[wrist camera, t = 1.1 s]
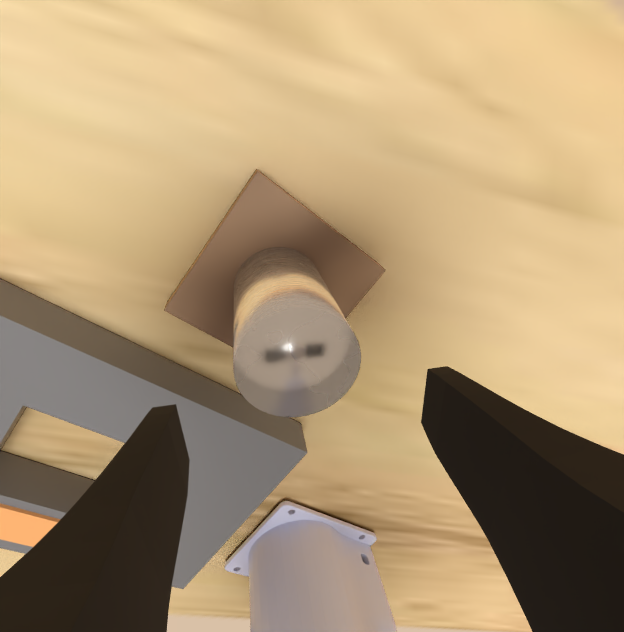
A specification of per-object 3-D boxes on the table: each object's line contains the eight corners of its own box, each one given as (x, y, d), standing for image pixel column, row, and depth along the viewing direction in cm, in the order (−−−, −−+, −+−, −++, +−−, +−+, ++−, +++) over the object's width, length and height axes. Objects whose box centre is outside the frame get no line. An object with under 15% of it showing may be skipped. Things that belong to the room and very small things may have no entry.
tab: (379, 264, 21) (385, 270, 20) (291, 369, 23) (293, 379, 22) (256, 168, 18) (257, 171, 17) (167, 302, 20) (164, 310, 19)
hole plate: (300, 423, 25) (308, 455, 22) (187, 552, 28) (182, 592, 26) (-8, 274, 17) (-47, 298, 15) (-110, 473, 21) (-154, 517, 19)
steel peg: (338, 278, 20) (385, 348, 13) (287, 342, 21) (309, 433, 15) (267, 228, 18) (285, 282, 12) (216, 300, 19) (207, 385, 13)
